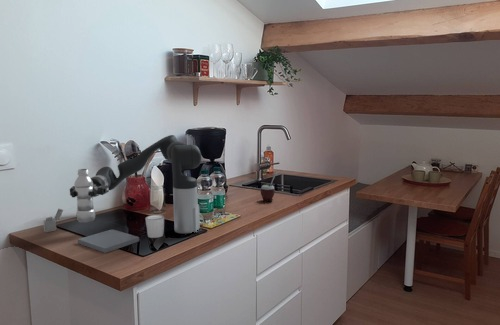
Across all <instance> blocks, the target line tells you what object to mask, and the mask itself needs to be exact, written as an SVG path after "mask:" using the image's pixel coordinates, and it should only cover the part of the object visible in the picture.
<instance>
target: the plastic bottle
mask: <svg viewBox="0 0 500 325" xmlns="http://www.w3.org/2000/svg"><path fill="white" fill-rule="evenodd" d="M89 174H90V173H89V168H79V169H77V175H78V176H77V177H76V179H75V181H74V183H73V186H75V190H76V195H77V196H76V202H77V203H76V206H77V208H76V219H77V221H78V222H79V223H89V222H93V221H94V220H95V219H96V211H95V208H94V199H93V198H94V197H91V191H92V190H93V181H92V180H91V178H92V177H90V176H89Z"/></svg>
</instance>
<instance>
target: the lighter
mask: <svg viewBox="0 0 500 325" xmlns="http://www.w3.org/2000/svg"><path fill="white" fill-rule="evenodd" d="M63 211H64V210H63V209H62V208H58V209H57V211H56V213H55V216H54V218H53V217H52V216H47V217H46V218H45V219H44V220H43V221H42V224H43V232H44V233H49V232H53V231H57V221H60V218H61V216H62V214H63Z"/></svg>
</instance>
